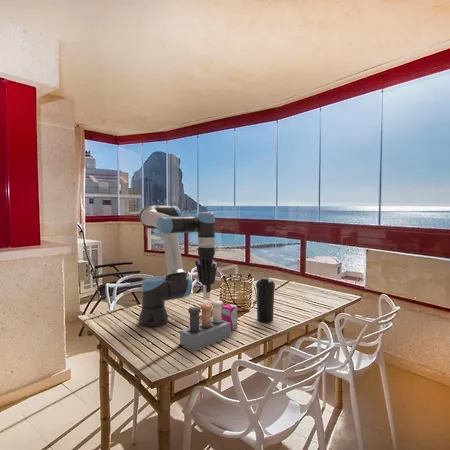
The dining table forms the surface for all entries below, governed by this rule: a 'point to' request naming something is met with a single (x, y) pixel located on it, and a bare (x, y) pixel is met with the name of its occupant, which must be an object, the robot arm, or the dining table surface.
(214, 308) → the cream plug
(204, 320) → the terracotta plug
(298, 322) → the dining table surface
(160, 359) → the dining table surface
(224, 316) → the supplement box
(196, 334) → the socket block
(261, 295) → the water bottle
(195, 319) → the black plug
